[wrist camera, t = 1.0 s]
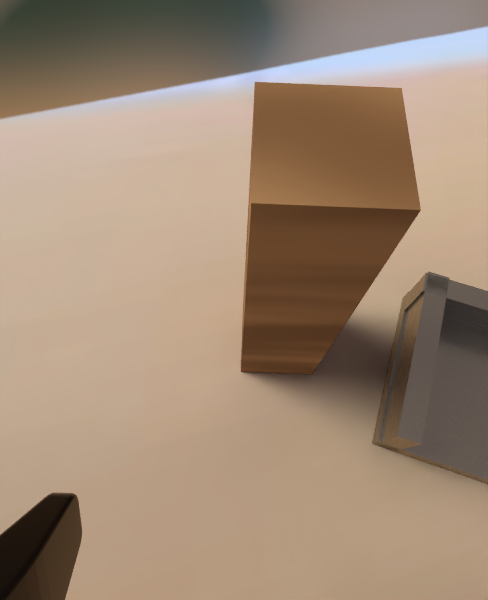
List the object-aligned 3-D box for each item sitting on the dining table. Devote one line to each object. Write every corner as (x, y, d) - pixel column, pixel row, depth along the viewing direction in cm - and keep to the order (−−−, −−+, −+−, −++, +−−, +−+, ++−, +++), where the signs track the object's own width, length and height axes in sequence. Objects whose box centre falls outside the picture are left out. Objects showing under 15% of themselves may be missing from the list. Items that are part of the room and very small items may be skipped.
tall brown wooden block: (312, 374, 22) (420, 209, 9) (240, 371, 22) (251, 203, 9) (310, 308, 24) (401, 88, 11) (243, 305, 24) (255, 81, 11)
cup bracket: (544, 503, 20) (598, 505, 17) (372, 443, 21) (394, 435, 18) (553, 344, 23) (599, 322, 20) (402, 298, 24) (426, 270, 21)
